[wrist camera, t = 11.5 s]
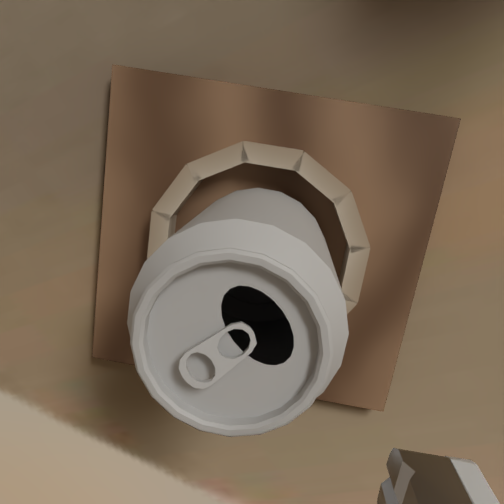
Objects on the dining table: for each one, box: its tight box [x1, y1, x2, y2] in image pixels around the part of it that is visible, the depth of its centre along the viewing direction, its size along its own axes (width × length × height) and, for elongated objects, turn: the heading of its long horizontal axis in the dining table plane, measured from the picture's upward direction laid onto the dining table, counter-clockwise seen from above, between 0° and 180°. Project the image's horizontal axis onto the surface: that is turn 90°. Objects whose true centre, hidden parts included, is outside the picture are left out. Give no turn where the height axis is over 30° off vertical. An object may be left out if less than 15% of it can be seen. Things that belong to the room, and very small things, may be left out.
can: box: [127, 188, 349, 437], centre depth 19 cm, size 8×8×12 cm
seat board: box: [92, 64, 461, 412], centre depth 25 cm, size 18×17×3 cm
